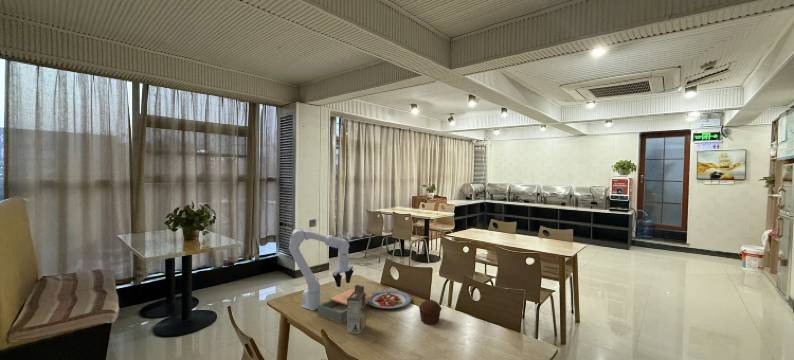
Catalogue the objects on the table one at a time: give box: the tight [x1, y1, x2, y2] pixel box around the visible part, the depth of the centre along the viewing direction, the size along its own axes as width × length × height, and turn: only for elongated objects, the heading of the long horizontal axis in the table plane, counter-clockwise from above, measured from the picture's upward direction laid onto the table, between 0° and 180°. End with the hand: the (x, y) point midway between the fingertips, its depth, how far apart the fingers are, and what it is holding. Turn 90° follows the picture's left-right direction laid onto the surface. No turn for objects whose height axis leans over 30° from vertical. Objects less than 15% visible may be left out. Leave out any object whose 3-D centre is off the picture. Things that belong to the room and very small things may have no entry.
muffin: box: [418, 299, 443, 326], centre depth 167 cm, size 12×11×10 cm
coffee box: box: [346, 292, 367, 335], centre depth 158 cm, size 9×6×16 cm
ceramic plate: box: [366, 289, 412, 309], centre depth 190 cm, size 26×26×3 cm
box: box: [317, 299, 347, 324], centre depth 174 cm, size 16×16×5 cm
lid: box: [329, 284, 373, 305], centre depth 182 cm, size 17×17×5 cm
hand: (343, 284), depth 188 cm, fingers open, 7 cm apart
